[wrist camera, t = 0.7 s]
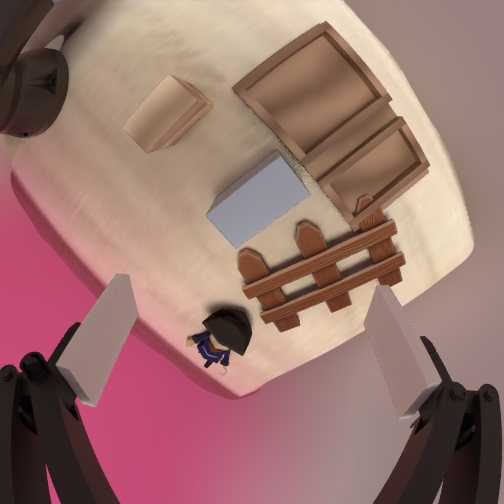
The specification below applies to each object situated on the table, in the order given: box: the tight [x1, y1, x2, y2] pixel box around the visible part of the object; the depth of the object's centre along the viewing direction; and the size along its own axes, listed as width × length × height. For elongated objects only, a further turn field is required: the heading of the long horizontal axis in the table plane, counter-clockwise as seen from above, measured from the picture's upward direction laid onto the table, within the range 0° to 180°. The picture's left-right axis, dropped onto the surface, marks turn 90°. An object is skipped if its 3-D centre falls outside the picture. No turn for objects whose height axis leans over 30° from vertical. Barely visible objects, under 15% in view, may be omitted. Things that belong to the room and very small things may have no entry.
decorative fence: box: [238, 194, 406, 332], centre depth 37 cm, size 23×2×15 cm
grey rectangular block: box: [206, 150, 310, 249], centre depth 31 cm, size 5×10×7 cm, turn 129°
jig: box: [232, 21, 430, 232], centre depth 28 cm, size 24×14×3 cm, turn 42°
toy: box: [186, 309, 252, 375], centre depth 43 cm, size 9×6×15 cm
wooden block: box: [122, 74, 214, 153], centre depth 26 cm, size 4×7×9 cm, turn 132°
